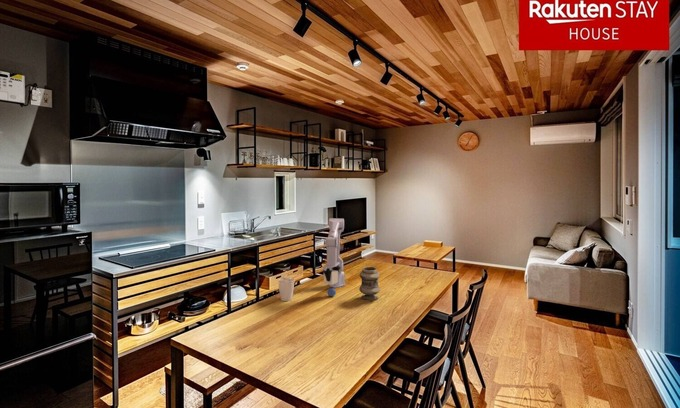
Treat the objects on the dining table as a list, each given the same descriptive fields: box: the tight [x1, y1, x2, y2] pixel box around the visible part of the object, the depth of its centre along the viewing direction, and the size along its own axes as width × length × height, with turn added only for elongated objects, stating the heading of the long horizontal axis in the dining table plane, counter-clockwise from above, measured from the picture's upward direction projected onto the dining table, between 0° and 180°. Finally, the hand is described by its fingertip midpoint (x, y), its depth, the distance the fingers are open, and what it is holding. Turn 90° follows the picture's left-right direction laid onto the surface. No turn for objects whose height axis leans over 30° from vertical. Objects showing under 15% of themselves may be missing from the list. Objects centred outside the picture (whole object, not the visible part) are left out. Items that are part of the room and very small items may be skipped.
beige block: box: [323, 269, 338, 285], centre depth 208 cm, size 6×6×7 cm
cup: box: [278, 276, 295, 302], centre depth 203 cm, size 9×9×12 cm
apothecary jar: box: [358, 266, 381, 302], centre depth 204 cm, size 12×12×18 cm
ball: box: [326, 287, 337, 297], centre depth 208 cm, size 5×5×5 cm
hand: (331, 279), depth 208 cm, fingers closed on beige block, 6 cm apart
